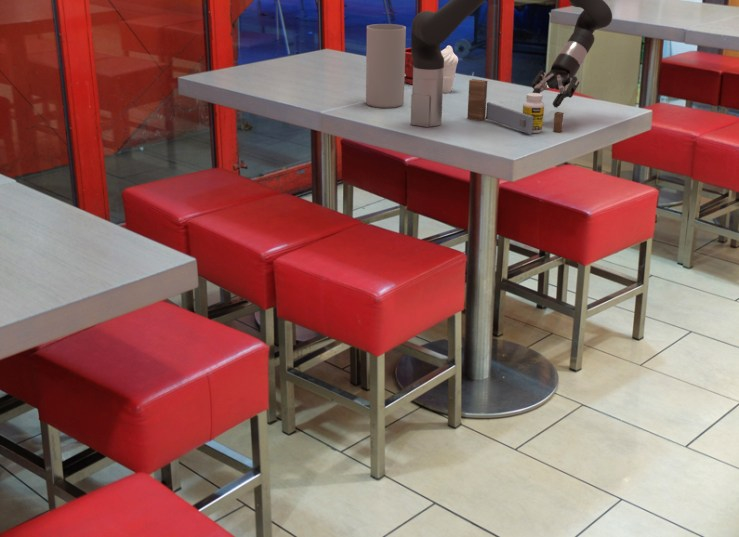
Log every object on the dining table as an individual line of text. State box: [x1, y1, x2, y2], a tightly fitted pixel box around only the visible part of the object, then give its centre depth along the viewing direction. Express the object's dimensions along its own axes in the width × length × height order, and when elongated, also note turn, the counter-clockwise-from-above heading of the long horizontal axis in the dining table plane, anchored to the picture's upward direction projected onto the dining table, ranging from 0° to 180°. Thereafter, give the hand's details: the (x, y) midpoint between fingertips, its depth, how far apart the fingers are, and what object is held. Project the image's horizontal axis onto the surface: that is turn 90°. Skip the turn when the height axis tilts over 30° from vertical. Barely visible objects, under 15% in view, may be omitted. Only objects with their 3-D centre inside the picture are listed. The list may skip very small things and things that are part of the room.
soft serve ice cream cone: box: [441, 45, 459, 94], centre depth 344 cm, size 8×8×16 cm
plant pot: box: [404, 47, 413, 85], centre depth 358 cm, size 13×13×12 cm
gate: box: [485, 101, 533, 135], centre depth 299 cm, size 2×21×5 cm, turn 31°
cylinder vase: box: [365, 23, 407, 109], centre depth 323 cm, size 12×12×25 cm
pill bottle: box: [522, 92, 545, 134], centre depth 295 cm, size 6×6×11 cm
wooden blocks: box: [466, 78, 564, 133], centre depth 302 cm, size 2×30×12 cm, turn 58°
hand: (543, 103), depth 298 cm, fingers open, 8 cm apart
